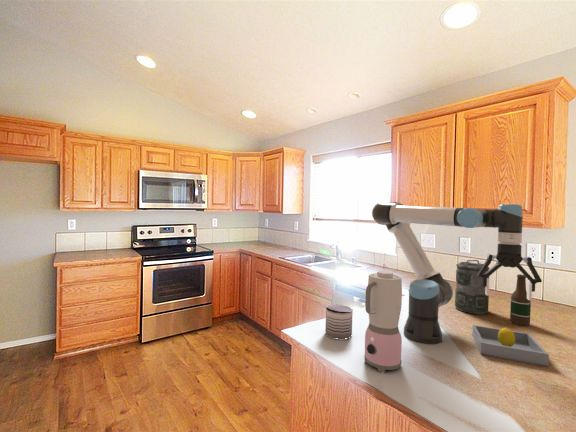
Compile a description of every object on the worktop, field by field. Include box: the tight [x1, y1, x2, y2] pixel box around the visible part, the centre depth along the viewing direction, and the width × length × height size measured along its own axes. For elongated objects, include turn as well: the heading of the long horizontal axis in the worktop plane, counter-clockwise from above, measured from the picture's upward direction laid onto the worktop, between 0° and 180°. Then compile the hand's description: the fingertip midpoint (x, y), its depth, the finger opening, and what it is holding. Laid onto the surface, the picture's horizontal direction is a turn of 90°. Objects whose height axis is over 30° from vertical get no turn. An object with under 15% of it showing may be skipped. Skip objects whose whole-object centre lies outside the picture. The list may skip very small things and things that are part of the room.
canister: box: [454, 259, 491, 315], centre depth 164 cm, size 16×16×28 cm
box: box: [471, 324, 550, 368], centre depth 116 cm, size 20×20×4 cm
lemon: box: [498, 327, 515, 347], centre depth 116 cm, size 6×6×8 cm
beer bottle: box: [509, 273, 532, 327], centre depth 145 cm, size 8×8×24 cm
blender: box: [364, 270, 403, 373], centre depth 101 cm, size 16×12×32 cm
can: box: [324, 303, 354, 339], centre depth 126 cm, size 11×11×12 cm
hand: (507, 297), depth 116 cm, fingers open, 13 cm apart
